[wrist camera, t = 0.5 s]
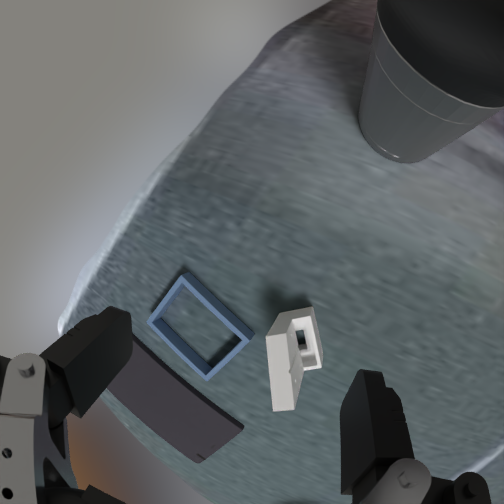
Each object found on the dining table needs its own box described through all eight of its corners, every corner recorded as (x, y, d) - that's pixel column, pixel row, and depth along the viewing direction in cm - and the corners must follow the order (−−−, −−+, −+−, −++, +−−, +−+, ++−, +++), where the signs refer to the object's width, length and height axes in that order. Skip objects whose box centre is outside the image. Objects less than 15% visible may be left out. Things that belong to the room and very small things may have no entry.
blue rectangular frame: (189, 271, 33) (180, 274, 32) (254, 333, 32) (250, 340, 30) (154, 317, 36) (146, 322, 34) (213, 373, 34) (206, 381, 32)
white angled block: (295, 402, 29) (273, 411, 22) (286, 317, 34) (261, 299, 26) (328, 397, 28) (316, 407, 21) (317, 311, 33) (301, 291, 25)
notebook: (246, 423, 35) (127, 324, 38) (242, 430, 33) (120, 327, 36) (201, 458, 38) (102, 374, 41) (197, 464, 36) (96, 377, 39)
